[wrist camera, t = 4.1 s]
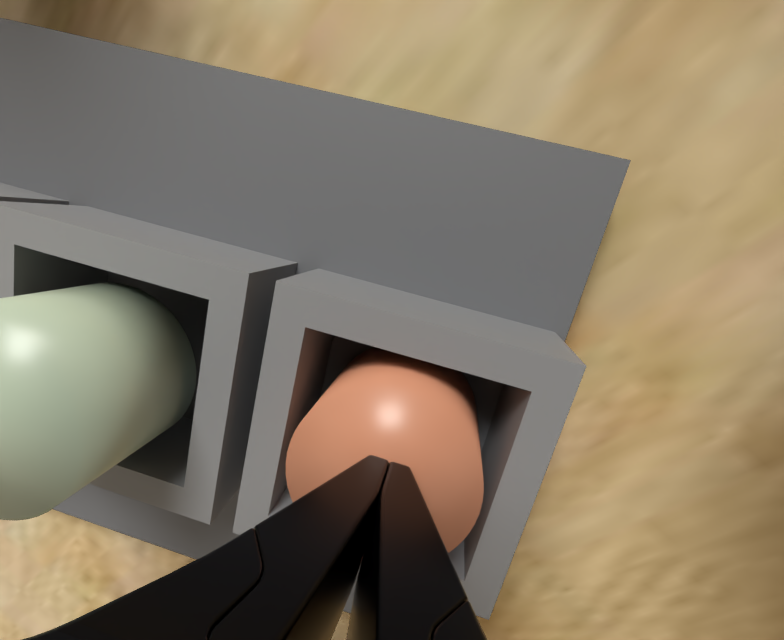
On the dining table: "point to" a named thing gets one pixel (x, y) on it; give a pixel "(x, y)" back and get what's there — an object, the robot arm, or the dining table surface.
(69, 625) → the robot arm
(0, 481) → the sage button
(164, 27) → the dining table surface
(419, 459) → the rust button
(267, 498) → the panel
